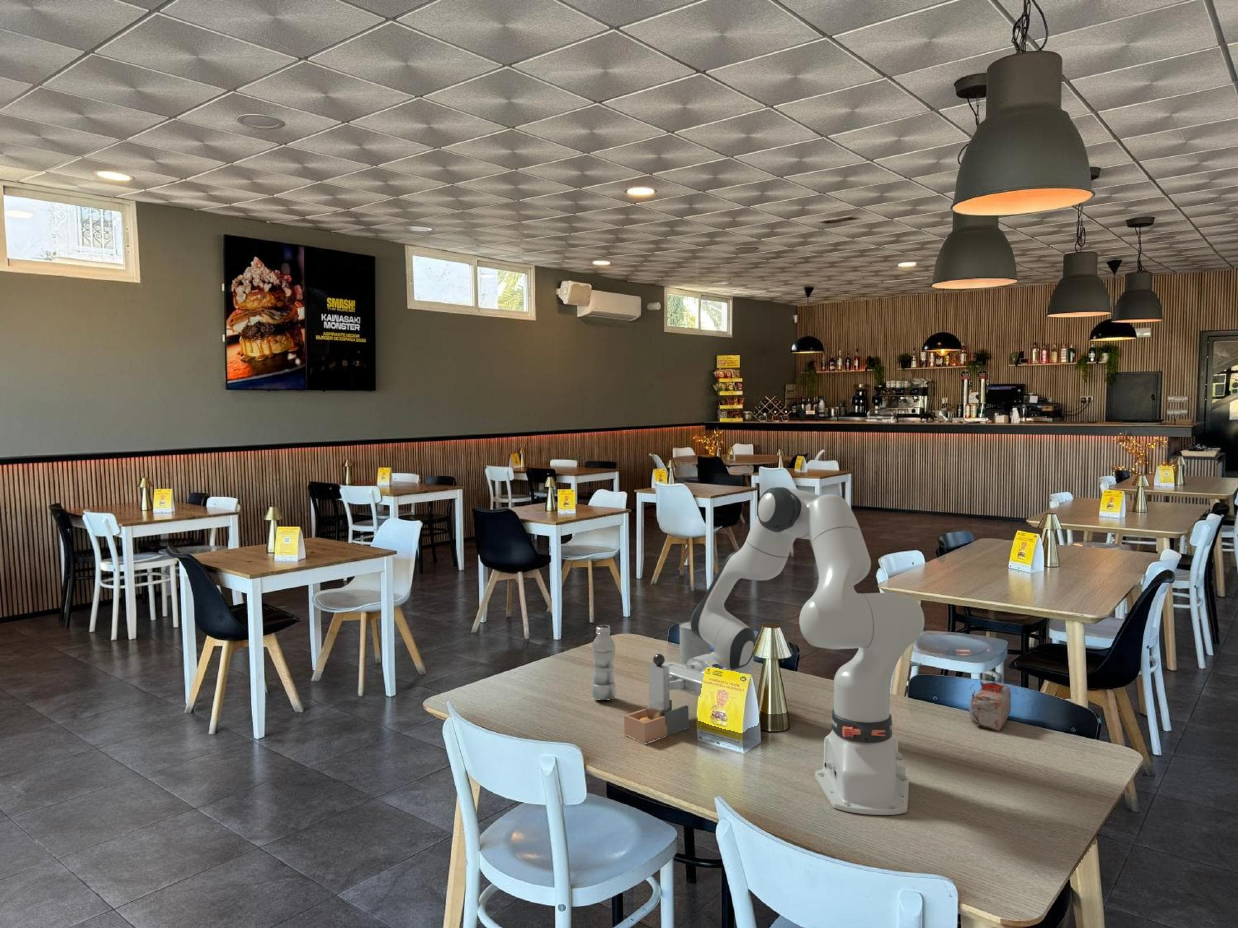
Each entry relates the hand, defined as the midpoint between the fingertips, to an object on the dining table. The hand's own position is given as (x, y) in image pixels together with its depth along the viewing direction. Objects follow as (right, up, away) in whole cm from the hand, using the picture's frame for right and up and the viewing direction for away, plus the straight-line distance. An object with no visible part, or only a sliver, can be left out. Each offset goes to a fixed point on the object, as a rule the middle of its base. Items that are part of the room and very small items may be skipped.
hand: (662, 685), depth 200 cm
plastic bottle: (-15, -10, +23) cm, 29 cm away
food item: (+81, -10, +3) cm, 82 cm away
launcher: (+1, -11, +2) cm, 11 cm away
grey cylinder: (+13, -8, +54) cm, 56 cm away
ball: (-4, -9, -3) cm, 10 cm away
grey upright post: (-1, -8, 0) cm, 8 cm away
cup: (-4, -11, -3) cm, 12 cm away
